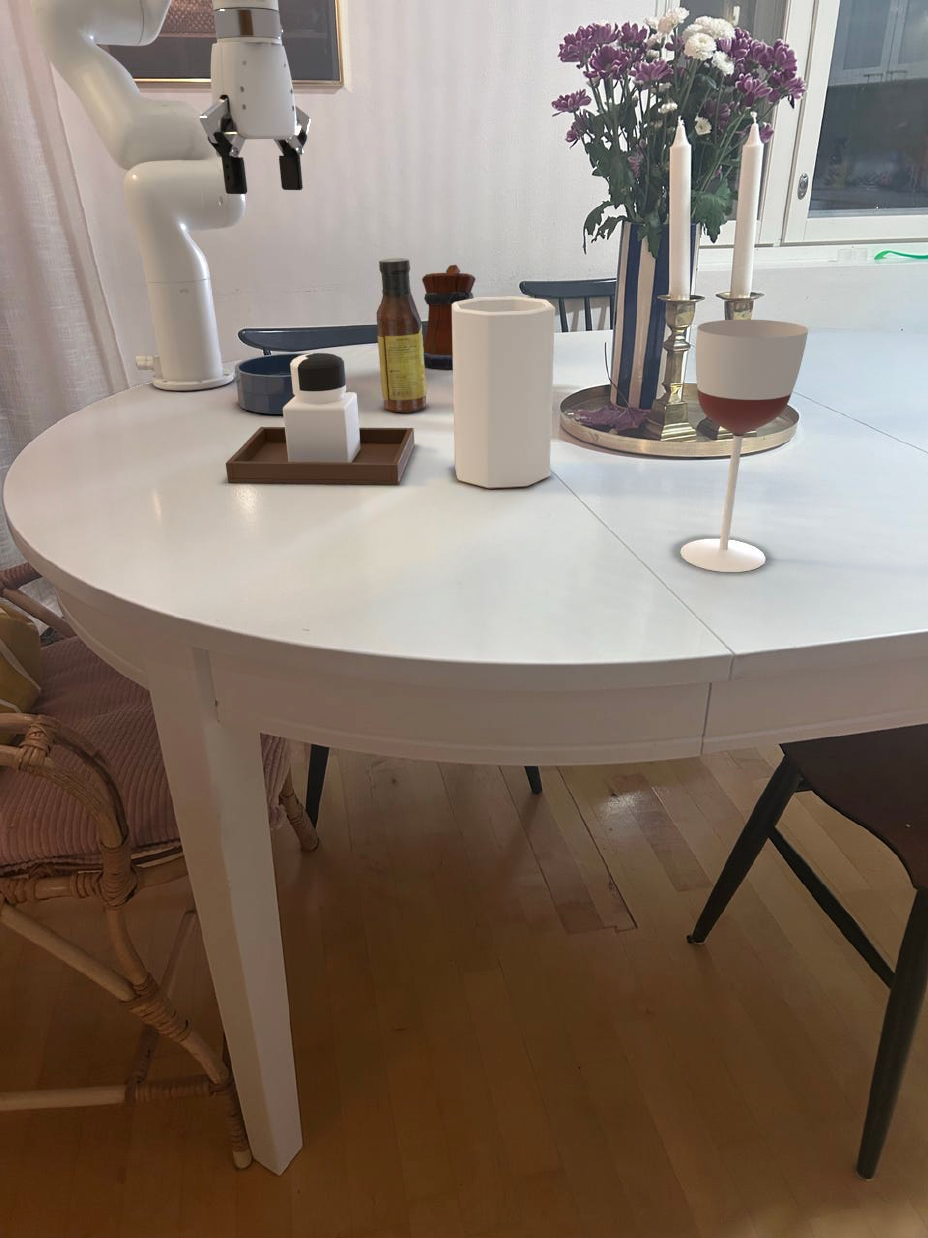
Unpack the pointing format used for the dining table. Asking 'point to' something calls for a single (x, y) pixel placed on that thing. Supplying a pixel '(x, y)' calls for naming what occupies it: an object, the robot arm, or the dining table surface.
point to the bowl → (265, 382)
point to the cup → (502, 390)
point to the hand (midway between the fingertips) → (265, 191)
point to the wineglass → (742, 408)
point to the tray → (372, 465)
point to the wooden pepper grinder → (443, 313)
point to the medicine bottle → (321, 412)
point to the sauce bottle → (400, 340)
